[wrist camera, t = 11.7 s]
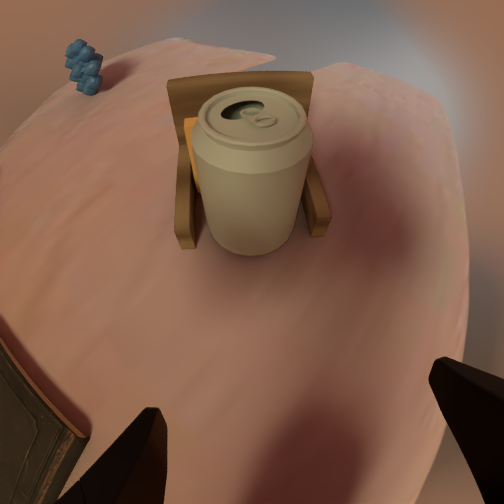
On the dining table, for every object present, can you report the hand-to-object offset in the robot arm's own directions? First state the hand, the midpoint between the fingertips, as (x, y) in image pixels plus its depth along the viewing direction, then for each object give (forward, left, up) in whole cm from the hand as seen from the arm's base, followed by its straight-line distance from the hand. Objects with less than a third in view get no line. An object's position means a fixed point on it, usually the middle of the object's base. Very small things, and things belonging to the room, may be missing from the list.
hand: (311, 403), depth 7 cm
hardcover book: (-8, +28, -13) cm, 32 cm away
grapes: (+47, +24, -13) cm, 54 cm away
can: (+15, 0, -13) cm, 19 cm away
